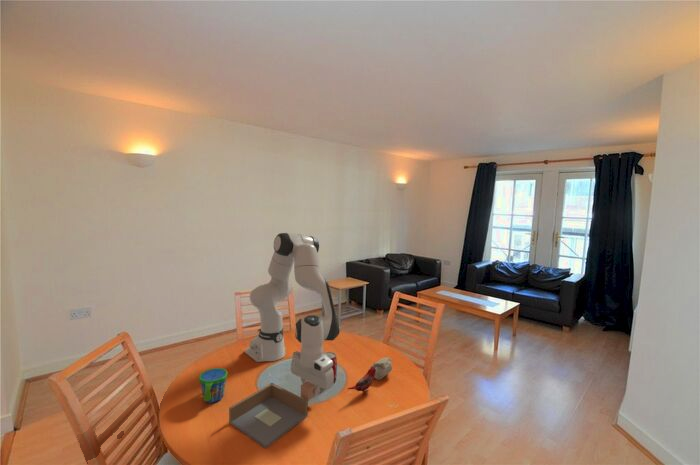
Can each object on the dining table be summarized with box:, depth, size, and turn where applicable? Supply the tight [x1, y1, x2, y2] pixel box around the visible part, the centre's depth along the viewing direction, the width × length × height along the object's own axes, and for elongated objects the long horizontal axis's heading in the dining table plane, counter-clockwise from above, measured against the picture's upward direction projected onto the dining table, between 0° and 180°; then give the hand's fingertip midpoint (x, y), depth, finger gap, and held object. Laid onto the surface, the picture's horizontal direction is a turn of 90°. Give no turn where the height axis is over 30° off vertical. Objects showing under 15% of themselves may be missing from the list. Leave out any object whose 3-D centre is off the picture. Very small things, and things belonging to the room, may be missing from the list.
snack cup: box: [198, 367, 228, 404], centre depth 129 cm, size 16×10×10 cm
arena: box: [228, 382, 309, 449], centre depth 117 cm, size 20×20×6 cm
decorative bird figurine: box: [347, 366, 376, 394], centre depth 133 cm, size 3×18×10 cm, turn 134°
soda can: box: [324, 351, 338, 382], centre depth 144 cm, size 7×7×12 cm
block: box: [300, 381, 321, 402], centre depth 126 cm, size 7×4×5 cm, turn 144°
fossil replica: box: [370, 357, 393, 381], centre depth 149 cm, size 12×8×10 cm
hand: (310, 390), depth 126 cm, fingers closed on block, 4 cm apart
